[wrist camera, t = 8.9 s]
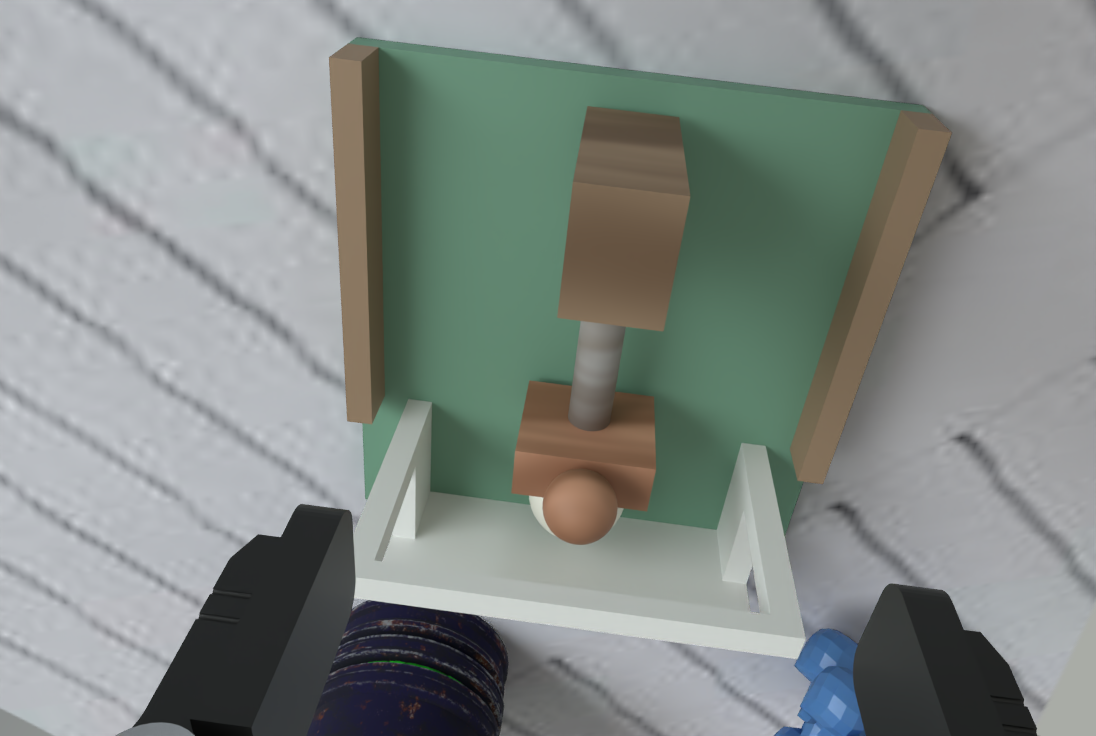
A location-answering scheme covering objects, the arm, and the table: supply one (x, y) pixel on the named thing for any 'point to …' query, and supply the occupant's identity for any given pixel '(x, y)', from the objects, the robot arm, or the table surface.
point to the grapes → (828, 687)
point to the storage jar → (413, 675)
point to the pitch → (647, 355)
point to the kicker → (607, 325)
